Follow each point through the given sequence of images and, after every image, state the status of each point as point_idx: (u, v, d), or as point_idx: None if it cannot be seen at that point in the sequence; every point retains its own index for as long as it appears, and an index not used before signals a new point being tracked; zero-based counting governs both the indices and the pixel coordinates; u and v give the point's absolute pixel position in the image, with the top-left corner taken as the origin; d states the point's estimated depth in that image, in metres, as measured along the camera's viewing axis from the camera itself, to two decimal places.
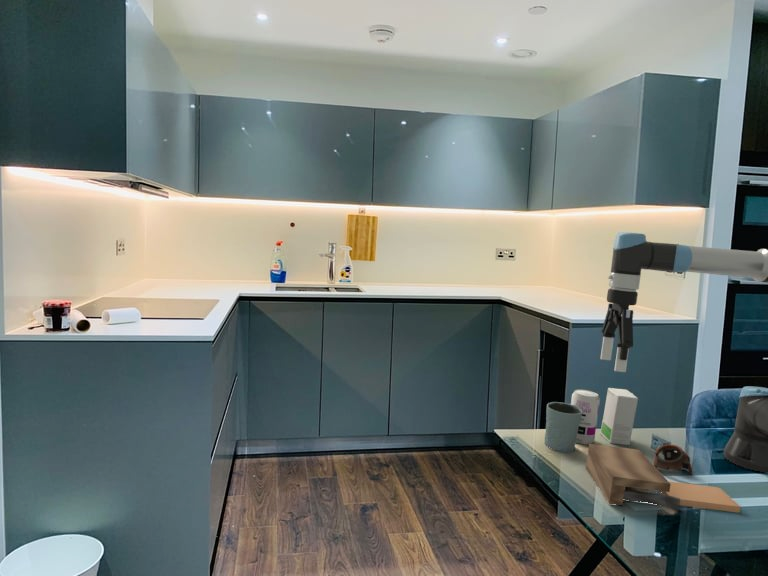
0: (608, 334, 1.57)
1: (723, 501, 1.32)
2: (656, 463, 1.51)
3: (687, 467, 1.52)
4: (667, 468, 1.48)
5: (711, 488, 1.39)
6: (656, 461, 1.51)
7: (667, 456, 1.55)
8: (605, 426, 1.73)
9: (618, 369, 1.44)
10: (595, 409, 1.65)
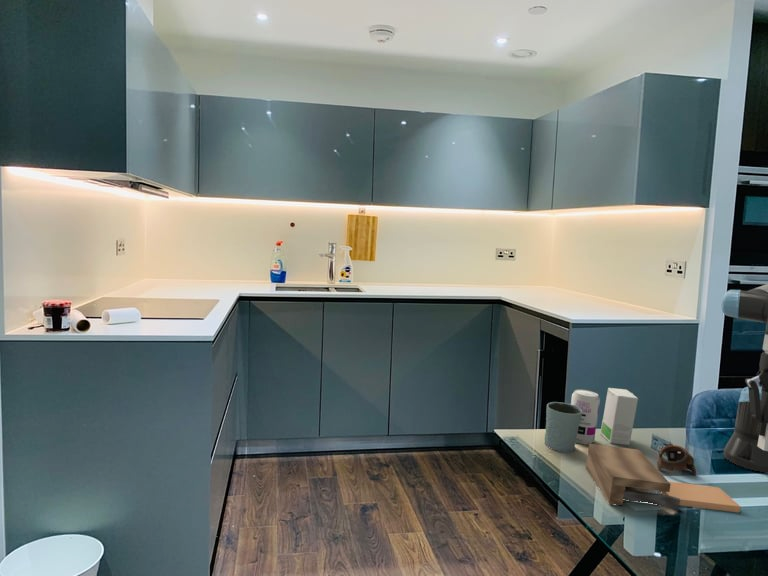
0: None
1: (723, 501, 1.32)
2: (660, 464, 1.50)
3: (691, 468, 1.52)
4: (671, 469, 1.47)
5: (711, 488, 1.39)
6: (660, 462, 1.51)
7: (670, 457, 1.55)
8: (605, 426, 1.73)
9: (759, 445, 1.33)
10: (595, 409, 1.65)
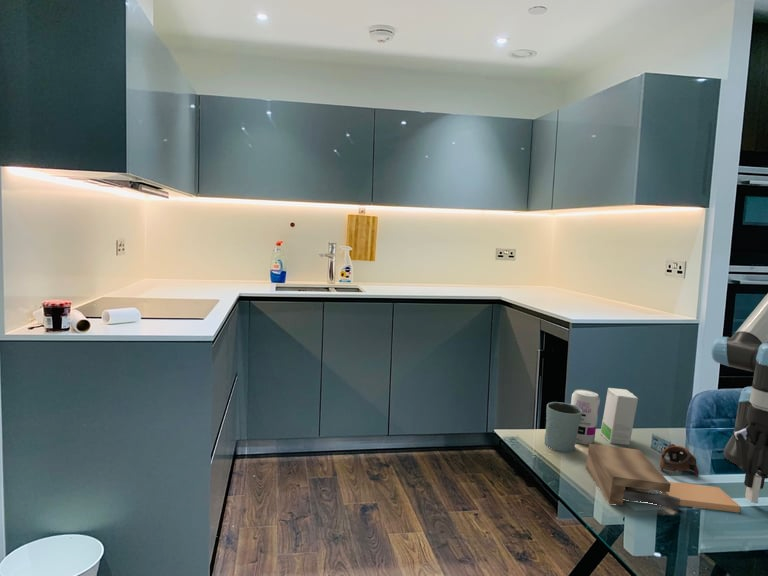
0: (759, 471, 1.34)
1: (723, 501, 1.32)
2: (662, 465, 1.50)
3: (693, 468, 1.51)
4: (674, 470, 1.47)
5: (711, 488, 1.39)
6: (662, 463, 1.50)
7: (672, 458, 1.55)
8: (605, 426, 1.73)
9: (747, 496, 1.35)
10: (595, 409, 1.65)
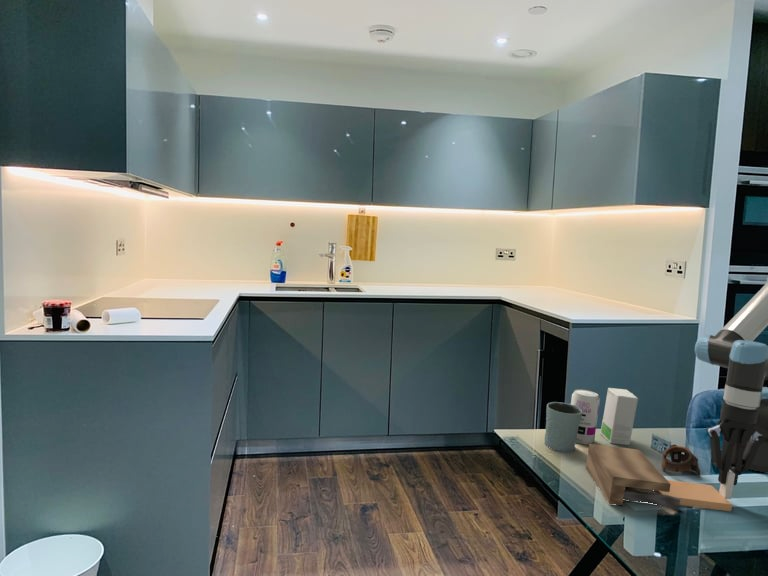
0: (732, 468, 1.34)
1: (715, 499, 1.32)
2: (664, 465, 1.50)
3: (695, 469, 1.51)
4: (676, 470, 1.47)
5: (703, 486, 1.39)
6: (664, 463, 1.50)
7: (674, 458, 1.54)
8: (605, 426, 1.73)
9: (720, 492, 1.36)
10: (595, 409, 1.65)
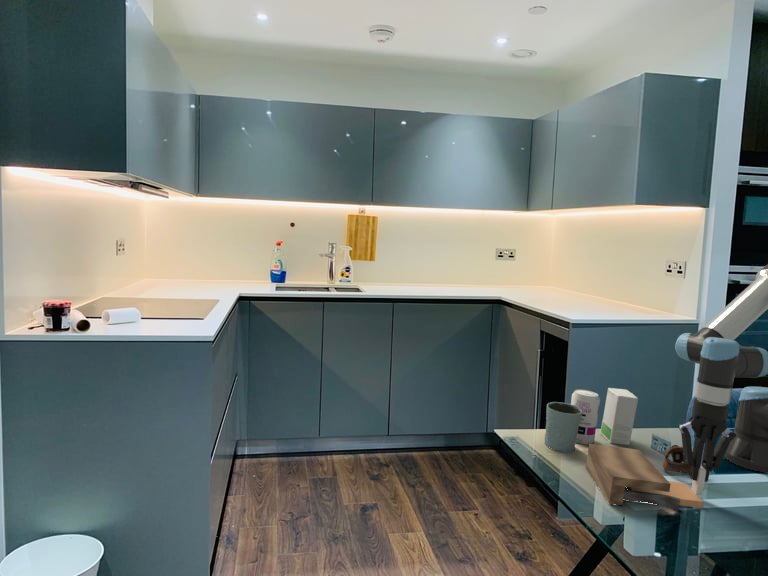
0: (704, 464, 1.35)
1: (686, 496, 1.33)
2: (666, 466, 1.50)
3: None
4: (678, 471, 1.47)
5: (676, 483, 1.40)
6: (666, 464, 1.50)
7: (675, 458, 1.54)
8: (605, 426, 1.73)
9: (692, 489, 1.36)
10: (595, 409, 1.65)
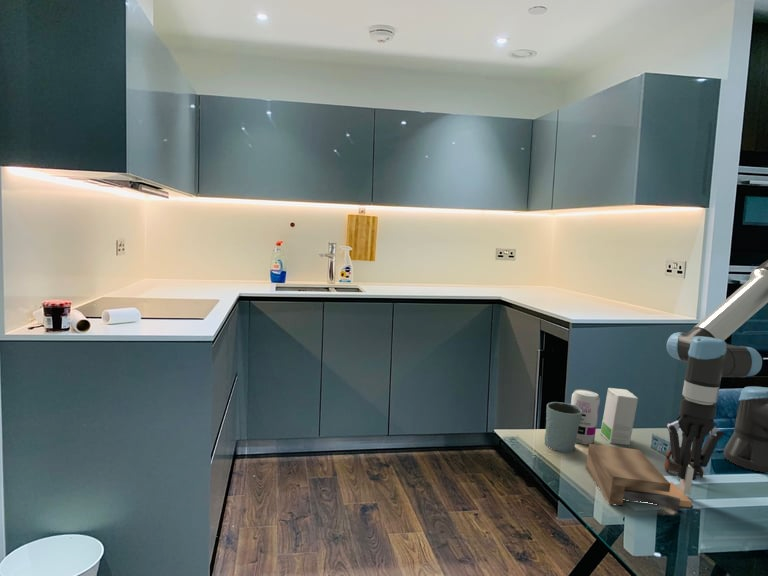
0: (692, 463, 1.35)
1: (675, 496, 1.32)
2: (667, 466, 1.49)
3: None
4: None
5: None
6: (667, 464, 1.50)
7: None
8: (605, 426, 1.73)
9: (680, 487, 1.37)
10: (595, 409, 1.65)
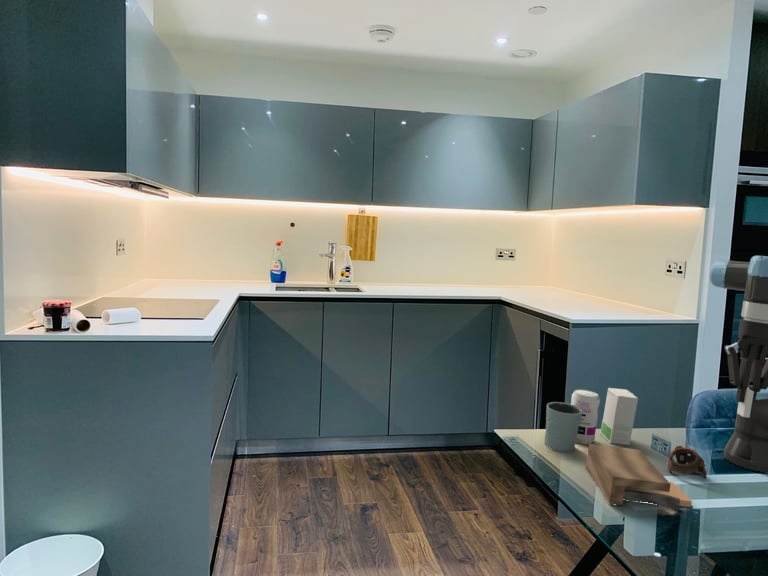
0: (751, 386, 1.32)
1: (675, 496, 1.32)
2: (671, 467, 1.49)
3: (701, 470, 1.51)
4: (683, 472, 1.46)
5: None
6: (671, 465, 1.49)
7: (679, 459, 1.54)
8: (605, 426, 1.73)
9: (739, 412, 1.34)
10: (595, 409, 1.65)
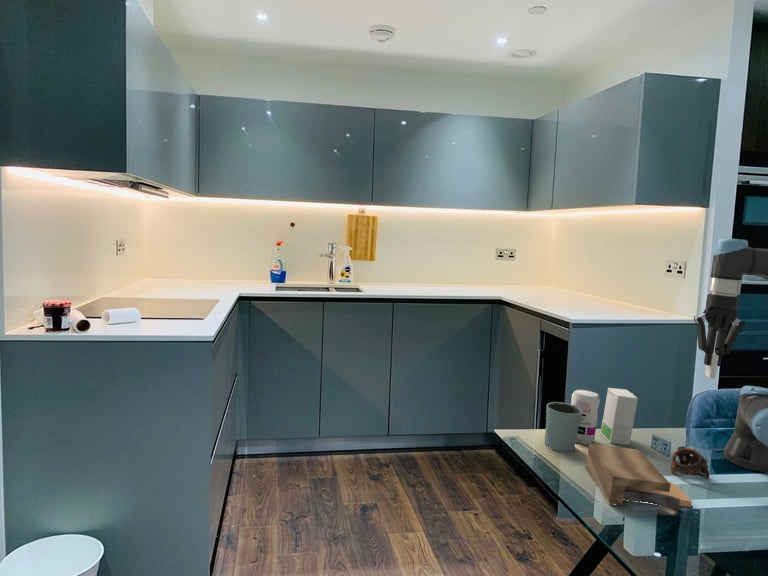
0: (716, 351, 1.53)
1: (675, 496, 1.32)
2: (674, 468, 1.49)
3: (703, 471, 1.50)
4: (686, 473, 1.46)
5: None
6: (674, 466, 1.49)
7: (682, 460, 1.53)
8: (605, 426, 1.73)
9: (706, 374, 1.54)
10: (595, 409, 1.65)
